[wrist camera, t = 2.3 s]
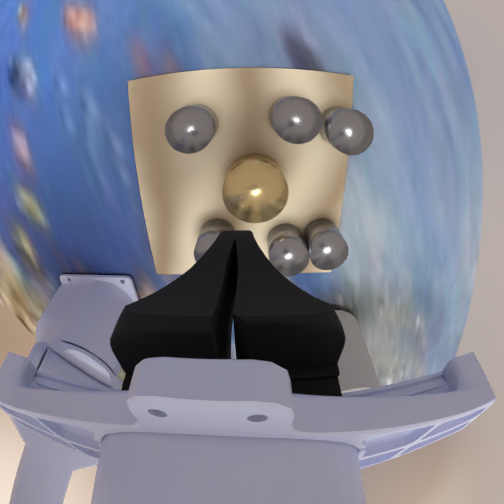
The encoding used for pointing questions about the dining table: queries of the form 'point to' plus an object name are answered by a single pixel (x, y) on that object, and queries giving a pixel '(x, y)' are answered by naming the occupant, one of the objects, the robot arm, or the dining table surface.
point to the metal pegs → (296, 132)
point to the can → (354, 358)
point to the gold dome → (255, 188)
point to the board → (230, 154)
